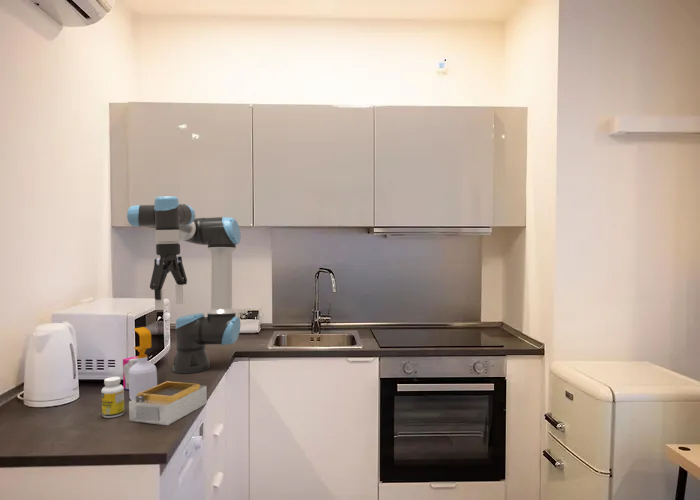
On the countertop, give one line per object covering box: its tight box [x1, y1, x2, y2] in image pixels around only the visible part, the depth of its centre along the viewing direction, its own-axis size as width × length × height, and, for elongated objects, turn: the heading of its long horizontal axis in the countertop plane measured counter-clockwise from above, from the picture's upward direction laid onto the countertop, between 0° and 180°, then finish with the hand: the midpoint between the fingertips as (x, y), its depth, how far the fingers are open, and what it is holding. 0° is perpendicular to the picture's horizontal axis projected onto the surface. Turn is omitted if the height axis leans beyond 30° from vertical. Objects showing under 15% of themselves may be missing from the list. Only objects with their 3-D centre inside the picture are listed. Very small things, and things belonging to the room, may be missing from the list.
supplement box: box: [122, 355, 138, 391], centre depth 186 cm, size 6×6×12 cm
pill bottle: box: [100, 376, 125, 419], centre depth 158 cm, size 6×6×12 cm
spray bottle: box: [128, 326, 158, 401], centre depth 175 cm, size 9×9×25 cm
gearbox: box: [128, 380, 208, 426], centre depth 160 cm, size 20×14×8 cm
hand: (170, 306), depth 166 cm, fingers open, 13 cm apart
